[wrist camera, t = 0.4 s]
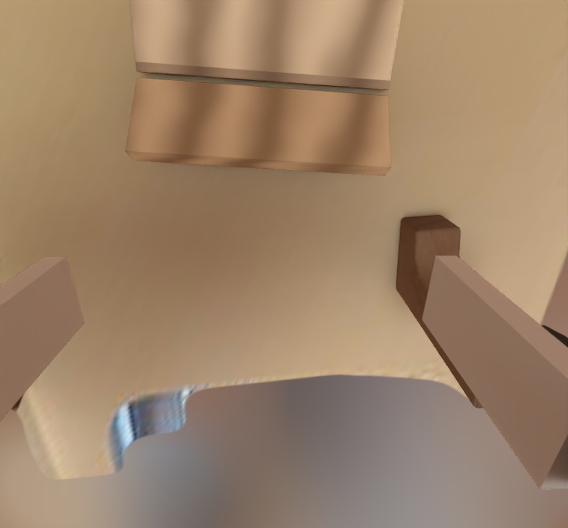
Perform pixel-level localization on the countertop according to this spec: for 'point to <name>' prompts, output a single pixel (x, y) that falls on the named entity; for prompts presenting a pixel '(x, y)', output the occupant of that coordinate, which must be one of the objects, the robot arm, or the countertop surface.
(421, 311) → the wooden block
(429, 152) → the countertop surface
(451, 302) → the robot arm
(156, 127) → the board
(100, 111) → the countertop surface
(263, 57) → the laid board
